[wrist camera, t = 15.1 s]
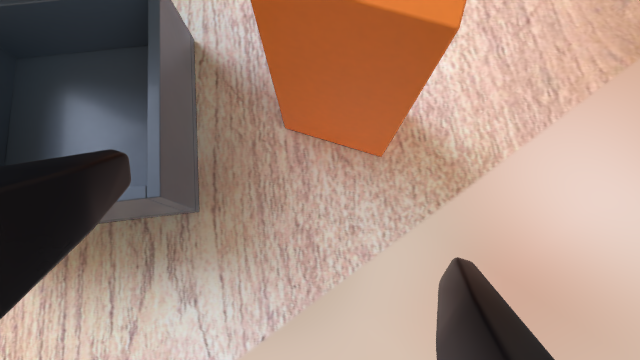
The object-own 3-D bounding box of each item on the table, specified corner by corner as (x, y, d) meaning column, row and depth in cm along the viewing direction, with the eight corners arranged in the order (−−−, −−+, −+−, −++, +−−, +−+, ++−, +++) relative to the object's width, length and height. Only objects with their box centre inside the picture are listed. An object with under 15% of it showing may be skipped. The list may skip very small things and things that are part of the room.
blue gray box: (199, 211, 18) (160, 196, 14) (-4, 235, 18) (-110, 227, 14) (194, 39, 21) (159, -20, 16) (16, 57, 21) (-68, 2, 16)
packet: (381, 157, 19) (459, 28, 8) (284, 128, 19) (241, -30, 9) (396, 105, 20) (486, -75, 9) (303, 78, 20) (284, -124, 10)
